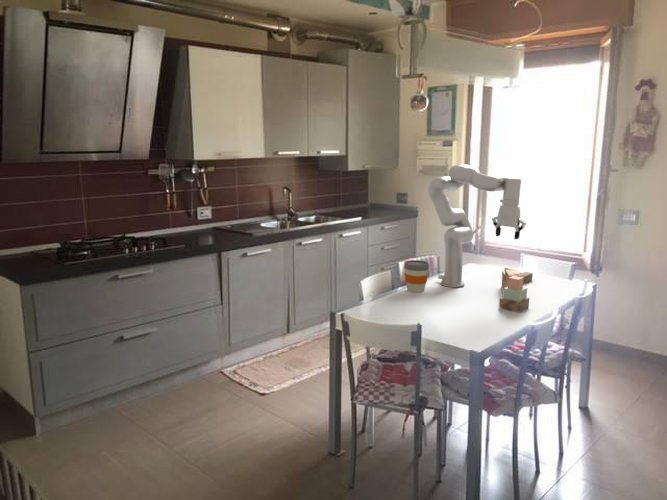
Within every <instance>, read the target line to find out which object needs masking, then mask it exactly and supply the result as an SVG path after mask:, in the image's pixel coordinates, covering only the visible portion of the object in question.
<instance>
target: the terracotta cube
mask: <svg viewBox="0 0 667 500" xmlns="http://www.w3.org/2000/svg"><path fill="white" fill-rule="evenodd" d="M523 287H524V284H523V277H517V276H512V277H509V280H508V288H510V289H515V290H519V289H521V288H523Z"/></svg>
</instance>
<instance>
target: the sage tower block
mask: <svg viewBox="0 0 667 500" xmlns="http://www.w3.org/2000/svg"><path fill="white" fill-rule="evenodd" d="M502 293H503V294H502V297H503V299H508V300H513V301H517V302H520V301H522V300H524V299H526V298H528V297H527V296H528V295H527V294H528V288H527V287H524V286H523V288H521V289H519V290H515V289H510V288H508V287H505V288H504V290H503V289H502Z"/></svg>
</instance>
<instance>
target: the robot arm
mask: <svg viewBox="0 0 667 500" xmlns="http://www.w3.org/2000/svg"><path fill="white" fill-rule="evenodd" d="M521 184H522V180H521V178H520V177H516V176H507V175H500V174H499V175H487V174H483V173H481V170H479V169H478V168H473V167H472V166H471V165H469V164H456V165H452V166H451V167H450V168H449V170H448V175H447V176H446V175H445V176H436V177H434V178H433V179H431V180H430V182H429V185H428V190H427V192H428V195H429V198H430V200H431V202H432V204H433V206H434V208H435V211H436V212H435V213H436V214H437V217H438V219H439V222H440V223H441V225H442V226H444V227H451V228H449V229H447V230H446V231H445V233H444V234H443V239H444V240H443V241H444V250H445V251H444V268H443V270H444V272H443V274H438V276H437V279H440V280H441V281H440V284H441V286H444V287H448V288H462V287H464V286H465V282H464V281H462V280H463V278H462V277H463V261H464V251H463V247H462V245H463V244H468V243H470V242H472V241H473V238H474V231H473V229H472V228H473V227H472V226H471V222H470V220H469V218H468V215H467V214H466V212H465V211H464V210H463V209H462V208H459V207H455V208H454V207H453V206H452V204H451V202H450V199H449V198H448V197H447V196H446V194H444V193H448V192H454V191H456V190H458V189H461V187H463V185H469V186H472V187H474V188H476V189H479V190H482V191H486V192H500V191H503V194H502V199H500V203H501V204H500V206H499V209H498V214H497V215H496V216H494V217H493V218H491V221H492V224H493V225H494V227H495V236H496V237H499V236H501V233H502V232H501V231H502V228H501V226H503V227H508V228H514V229H515V231H514V236H513V237H514V240H518V239H519V238H520V233H521V231H522V230H523V229H524V228H525V227H526V225H527V222H525V221H524V220H523V219H521V207H520V206H519V204H520V196H521V195H520V194H521V186H522V185H521ZM520 224H521V225H520Z"/></svg>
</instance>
